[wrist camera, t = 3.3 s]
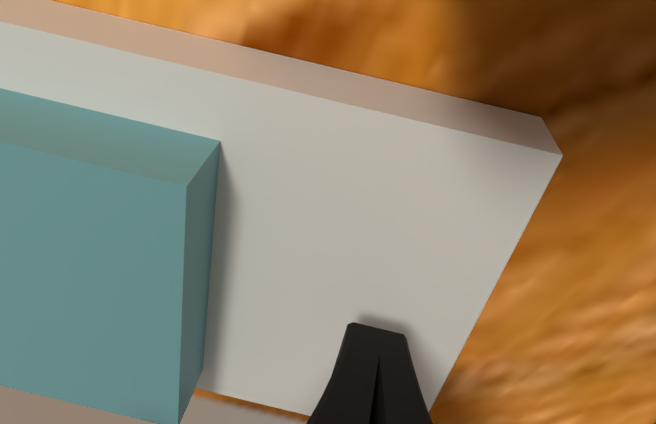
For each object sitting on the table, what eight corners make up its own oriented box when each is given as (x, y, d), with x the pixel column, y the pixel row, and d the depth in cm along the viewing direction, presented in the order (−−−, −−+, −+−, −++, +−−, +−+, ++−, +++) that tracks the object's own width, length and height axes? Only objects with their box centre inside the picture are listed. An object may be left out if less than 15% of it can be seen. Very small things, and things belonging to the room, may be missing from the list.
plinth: (541, 117, 12) (563, 155, 10) (412, 388, 18) (413, 441, 16) (-37, -21, 12) (-110, -5, 10) (28, 295, 18) (-11, 338, 16)
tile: (220, 140, 11) (186, 186, 9) (202, 370, 15) (177, 428, 14) (-45, 77, 11) (-126, 111, 9) (14, 324, 15) (-34, 377, 14)
